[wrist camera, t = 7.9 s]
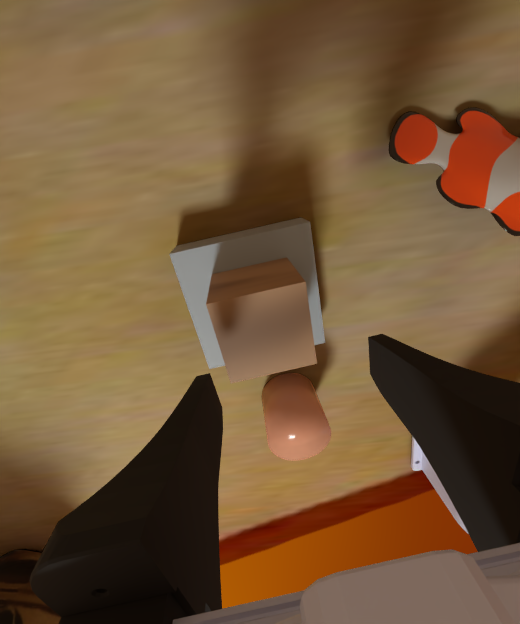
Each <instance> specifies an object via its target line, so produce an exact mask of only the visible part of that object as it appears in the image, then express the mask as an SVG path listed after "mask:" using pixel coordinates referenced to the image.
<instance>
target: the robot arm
mask: <svg viewBox="0 0 520 624" xmlns="http://www.w3.org/2000/svg"><path fill="white" fill-rule="evenodd" d="M368 340H369V359H370V374H371V376H372V378H373V380H374V382H375V384H376V385H377V387H378V389H379V391H380V392H381V394H382V395H383V397H384V398H385V399H386V401H387V402H388V404H389V405H390V406H391V408H392V409H393V410H394V412H395V413H396V414H397V416H398V417H399V418H400V420H401V421H402V422H403V424H404V425H405V426H406V428H407V429H408V431H409V432H410V433H411V435H412V456H411V467H412V469H413V470H414V471H418V470H423V472H424V473H425V475H426V476H427V478H428V479H429V481H430V482H431V484H432V485H433V487H434V488H435V490H436V491H437V492H438V494H439V496H440V497H441V499H442V500H443V502H444V503H445V505H446V506H447V508H448V509H449V511H450V512H451V514H452V515H453V517H454V518H455V519H456V521H457V522H458V523H459V525H460V526H461V527H462V528H463V529H464V530H465V531H466V532H467V533H468V534H469V535H470V537H471V539H472V541H473V543H474V545H475V547H476V549H477V551H478V552H476V553H472V554H467V555H466V554H464V553H461V552H458V551H455V550H441V551H432V552H427V553H422V554H418V555H414V556H409V557H404V558H400V559H395V560H391V561H386V562H382V563H377V564H373V565H368V566H365V567H360V568H355V569H350V570H346V571H342V572H337V573H334V574H331V575H329V576H326V577H323V578H320V579H318V580H316V581H315V582H314V583H313V584H311V585H310V586H309V587H308V588H306V589H305V591H300V592H296V593H291V594H287V595H282V596H278V597H273V598H269V599H265V600H260V601H255V602H251V603H247V604H242V605H237V606H233V607H228V608H224V609H222V600H221V583H220V558H219V526H218V482H219V469H220V458H221V447H222V435H223V416H222V406H221V403H220V400H219V398H218V395H217V392H216V389H215V386H214V384H213V381H212V378H211V375H210V373H209V374H205V375H200V376H197V377H196V378H195V380H194V381H193V382H192V384H191V386H190V387H189V389H188V390H187V392H186V393H185V395H184V396H183V398H182V400H181V401H180V403H179V404H178V405H177V407H176V408H175V410H174V411H173V413H172V414H171V415H170V417H169V418H168V419H167V421H166V422H165V424H164V425H163V426H162V428H161V429H160V430H159V431H158V432H157V434H156V435H155V436H154V437H153V438H152V440H151V441H150V442H149V443H148V444H147V445H146V446H145V447H144V448H143V450H142V451H141V452H140V453H139V454H138V455H137V456H136V457H135V458H134V459H133V460H132V461H131V462H130V463H129V464H128V465H127V466H126V467H125V468H124V469H123V470H121V471H120V472H119V473H118V474H117V475H116V476H115V477H114V478H113V479H112V480H110V481H109V482H108V483H107V484H106V485H105V486H103V487H102V488H101V489H100V490H99V491H98V492H96V493H95V494H94V495H93V496H91V497H90V498H89V499H88V500H86V501H85V502H84V503H82V504H81V505H80V506H78V507H77V508H76V509H75V510H73V511H72V512H71V513H69V514H68V515H67V516H65V517H64V518H63V519H61V520H60V521H59V522H58V523H57V525H56V527H55V529H54V531H53V533H52V535H51V536H50V538H49V540H48V542H47V544H46V546H45V548H44V550H43V552H42V554H41V556H40V558H39V560H38V561H37V563H36V565H35V567H34V569H33V571H32V573H31V576H30V580H29V581H30V585H31V588H32V591H33V592H34V593H35V595H36V596H37V597H38V598H39V599H40V600H42V601H43V602H44V603H45V604H46V605H48V606H49V607H50V608H51V609H52V610H54V611H55V612H56V613H57V614H58V615H59V616H61V619H60V621H59V624H520V383H517V382H513V381H509V380H505V379H501V378H497V377H493V376H489V375H485V374H482V373H478V372H475V371H472V370H469V369H466V368H463V367H460V366H457V365H454V364H451V363H448V362H446V361H443V360H441V359H438V358H435V357H433V356H431V355H428V354H426V353H424V352H421V351H419V350H417V349H414V348H412V347H410V346H408V345H406V344H404V343H401V342H399V341H397V340H395V339H393V338H390V337H388V336H386V335H383V334H379V335H375V336H371V337H368Z"/></svg>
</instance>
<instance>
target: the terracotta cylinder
mask: <svg viewBox="0 0 520 624" xmlns="http://www.w3.org/2000/svg"><path fill="white" fill-rule="evenodd" d="M262 403H263V411H264V418H265V425H266V432H267V440H268V445H269V448H270V450H271V451H272V452H273V453H274V454H275V455H276V456H278V457H280V458H283V459H286V460H303V459H307V458H310V457H312V456H315V455H316V454H318V453H320V452H321V451H322V450H323V449H324V448H325V447H326V446H327V444H328V443H329V441H330V438H331V429H330V426H329V424H328V421H327V419H326V416H325V414H324V411H323V409H322V406H321V404H320V401H319V399H318V396H317V394H316V391H315V389H314V386H313V384H312V382H311V381H310V380H309V379H308V378H307V377H305V376H304V375H301V374H298V373H284V374H280V375H278V376H276V377H274V378H272V379H271V380H270V381H269V382H268V383H267V384H266V385H265V387H264V389H263V391H262Z"/></svg>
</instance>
